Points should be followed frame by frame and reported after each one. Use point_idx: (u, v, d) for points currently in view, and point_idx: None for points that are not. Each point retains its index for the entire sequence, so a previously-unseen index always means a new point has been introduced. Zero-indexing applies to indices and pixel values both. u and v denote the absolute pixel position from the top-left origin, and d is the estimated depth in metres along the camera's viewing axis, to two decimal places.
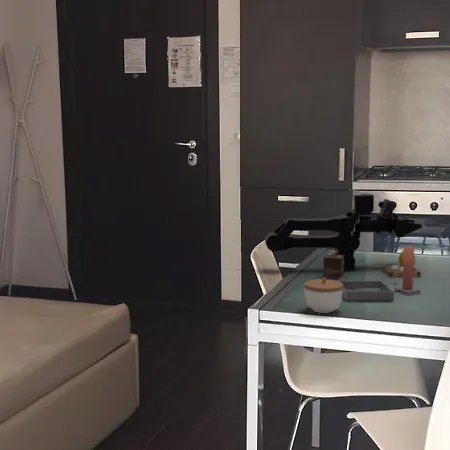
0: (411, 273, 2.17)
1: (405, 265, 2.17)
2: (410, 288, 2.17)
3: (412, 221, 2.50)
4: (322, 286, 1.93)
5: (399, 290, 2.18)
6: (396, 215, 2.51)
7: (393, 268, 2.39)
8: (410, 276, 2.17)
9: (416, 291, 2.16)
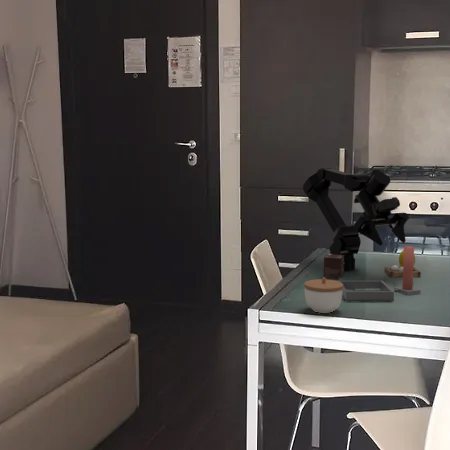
0: (411, 273, 2.17)
1: (405, 265, 2.17)
2: (410, 288, 2.17)
3: (403, 240, 2.26)
4: (322, 286, 1.93)
5: (399, 290, 2.18)
6: (400, 222, 2.28)
7: (393, 268, 2.39)
8: (410, 276, 2.17)
9: (416, 291, 2.16)
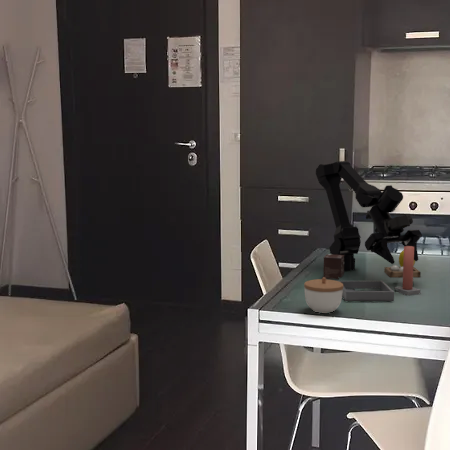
0: (411, 273, 2.17)
1: (405, 265, 2.17)
2: (410, 288, 2.17)
3: (415, 258, 2.21)
4: (322, 286, 1.93)
5: (399, 290, 2.18)
6: (412, 239, 2.22)
7: (393, 268, 2.39)
8: (410, 276, 2.17)
9: (416, 291, 2.16)
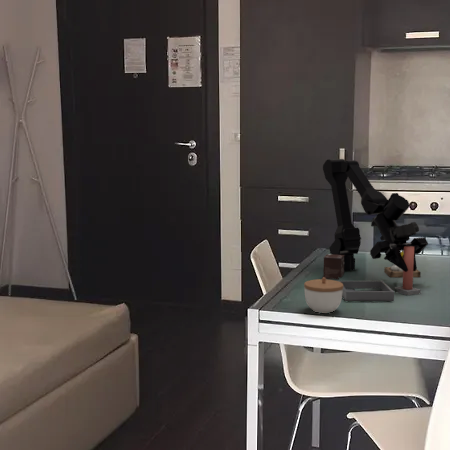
0: (411, 273, 2.17)
1: None
2: (410, 288, 2.17)
3: (414, 267, 2.17)
4: (322, 286, 1.93)
5: (399, 290, 2.18)
6: None
7: (393, 268, 2.39)
8: (410, 276, 2.17)
9: (416, 291, 2.16)
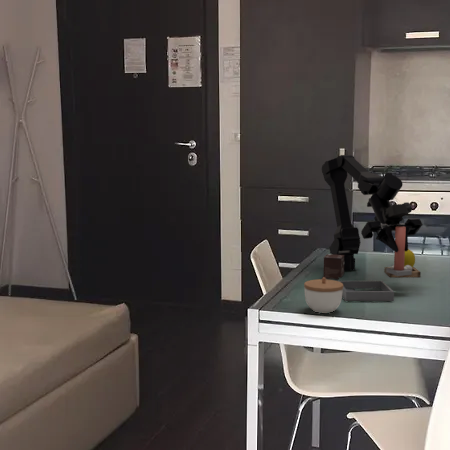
0: (402, 253, 2.14)
1: None
2: (401, 269, 2.15)
3: (405, 248, 2.15)
4: (322, 286, 1.93)
5: (390, 270, 2.16)
6: None
7: None
8: (401, 256, 2.14)
9: (407, 272, 2.14)
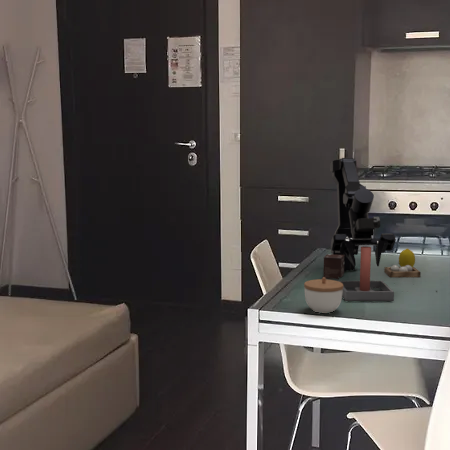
0: (366, 274, 2.12)
1: (360, 265, 2.13)
2: (365, 289, 2.13)
3: (377, 263, 2.12)
4: (322, 286, 1.93)
5: (355, 290, 2.15)
6: (378, 243, 2.14)
7: (393, 268, 2.39)
8: (365, 277, 2.12)
9: None
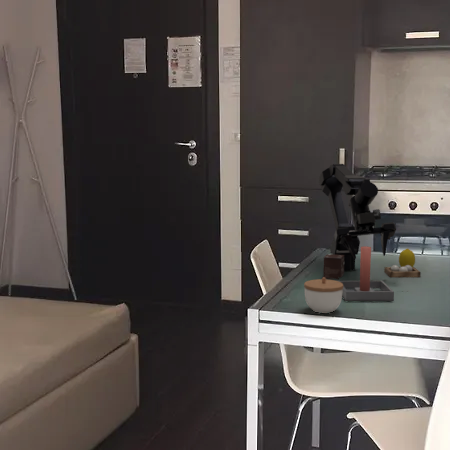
0: (366, 274, 2.12)
1: (360, 265, 2.13)
2: (365, 289, 2.13)
3: (383, 253, 2.23)
4: (322, 286, 1.93)
5: (355, 290, 2.15)
6: (383, 234, 2.24)
7: (393, 268, 2.39)
8: (365, 277, 2.12)
9: None
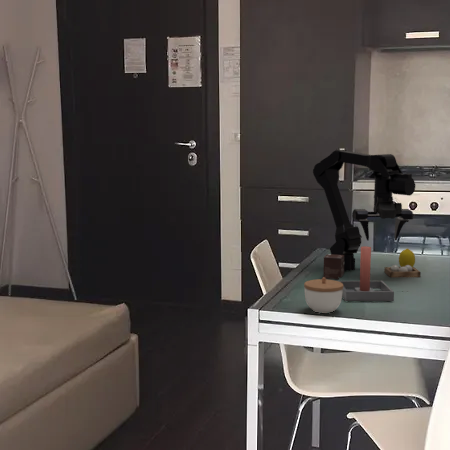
0: (366, 274, 2.12)
1: (360, 265, 2.13)
2: (365, 289, 2.13)
3: (395, 238, 2.34)
4: (322, 286, 1.93)
5: (355, 290, 2.15)
6: (399, 222, 2.31)
7: (393, 268, 2.39)
8: (365, 277, 2.12)
9: None
